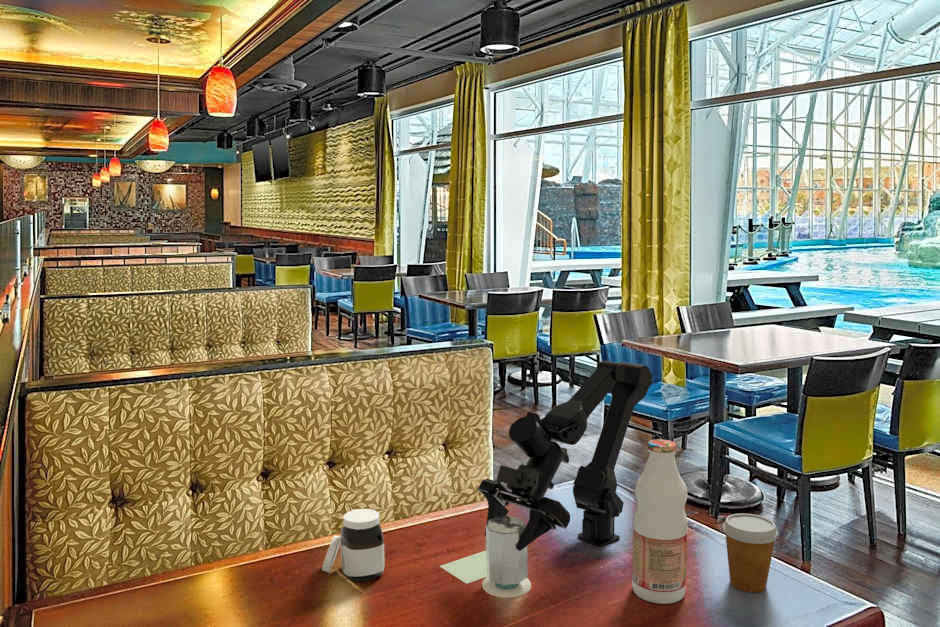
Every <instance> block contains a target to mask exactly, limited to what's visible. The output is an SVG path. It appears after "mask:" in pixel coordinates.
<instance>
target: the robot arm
mask: <svg viewBox="0 0 940 627" xmlns="http://www.w3.org/2000/svg"><path fill="white" fill-rule="evenodd" d="M653 379H654V378H653V373H652V371H650V368H649V367H648V366H647V365H646V364H639V363H631V362H625V361H624V362H623V361H619V362H615V361H609V360H603V361H599V362H598V363H597V365H596V369H595V370H594V371H593V372H592V374H591V375H590V376H589V377H588V378H587V379H586V381H585V382H584V383H583V384H582V385H581V386H580V388H578V390H577V391H576V392H575V393H574V394H573V395H572V396H571V397H570V399H569V400H568V401H566V402H563V403H561V404H558V405H556V406H554V407H553V408H552V409H551V410H549V411H548V412H547V413H546V414H545V415H544V416H543V417H542V418H541V417H540V415H539V414H538V413H537V412H533V411H528V412H527V413H526V415H525V416H521V417H520V418H517V420H515V421H514V422H513V423H511V425H510V427H509V430H508V437H509V439H510V440H511V441H512V442H513V443H514V445H516V447H518V448H519V450H520V451H521V452H522V453H523V455H524V456H526V457H527V458H528V459H527V462H526V464H523V463H521V464H520V465H518V467H517V469H516V468H512V467H509V466H506V465H504V464H503V465H502V464H500V466H499V469H498V473H497V476H496V480H493V479H489V478H485V479H482V481H481V482H480V484H479V485H478V488H477V490H478V491H479V492H480V493H481V495H482V496H483V497H484V499H486V501H487V505H488V506H487V516H486V524H487V523H488V521H489V520H490V519H492V518H495V517H499V516H508V513H509V512H510V510H509V509H508V508H507V507H506V506H509V504H512V505H516V506H519V507H521V508H525V509H527V510H529V518H528V522H527V523H526V524H525V525H526V527H525V529H524V531H523V533H522V535H521V537H520V539H519V541H518V544H517V547H516V549H517V550H518V551H521V550H522V549H524V548H525V547H526V546H527V547H528V546H529V545H530V544H531V543H533V542H534V541H536V540H537V539H539V538H540V537H541V536H543V535H544V534H546V533H547V532H550V531H551V530H554V531H555V530H556V529H557V527H559V528H562V529H567V528H568V525H569V524H570V521H571V513H570V512H569V511H568V510H567V509H566V507H565V506H564V505H563V504H562V503H561V502H560V501H558V500H555V499H553V498H548V497H546V496H545V494H546V493H547V491H548V489H549V490H553V489H554V487H555V484H554V483H553V482H552V481H553V479H554V478H555V475H556V474H557V471H558V470H559V467H560V465H561V464H562V463H566V464H568V463H569V462H570V456H569V454H568V448H565V447H562V446H560V444H559V443H561V444H565V445H569V446H570V445H571V446H576V444H578V443H579V442H580V440H581V438H582V437H583V435H584V434H585V432H586V430H587V429H588V418H589V417H590V415H591V414H592V413H593V412H594V410H595V409H596V408H597V407H598V406H599V405H600V404H601V402H602V401H603V399H605V398H606V396H607V395H608V394H609V392H610V395H611V401H610V404H609V407H608V410H607V414H606V416H605V419H604V422H603V425H602V428H601V431H600V434H599V437H598V440H597V443H596V446H595V450H594V453H593V456H592V459H591V461H590V462H589V463H588V464H587V465H580V467H578V470H577V472H576V473H577V474H576V476H575V479H574V481H573V482H572V483H573V487H572V493H573V498H574V501H575V502H574V503H575V506H576V508H577V509H581V510H583V512H582V513H583V518H582V519H581V520H582V521H581V522H582V524H581V525H582V527H581V532H580V533H578V534H577V537H578V538H580V539H582V540H584V541H586V542H588V543H590V544H593V545H594V546H597V547H602V546H604V545H607V544H610V543H613V542H615V541H618V540H620V539H621V538H620V537H621V536H620V535H617V534H616V533H615V518H619V517H620V514H622V512H623V509H624V501H623V500H622V499H621V497H620V495H618V493H617V488H618V481H617V477H616V473H615V468H616V465H617V461H618V458H619V456H620V451H621V449H622V446H623V442H624V440H625V437H626V434H627V431H628V427H629V424H630V421H631V418H632V414H633V411H634V409H635V406H636V405H637V404H638V403H640V402H641V401H642V400H644V398H646V396H647V394H648V391H649V388H650V386H651V385H652V383H653ZM557 442H558V443H557ZM502 483H503V484H506V485H505V486H506V487H505V486H504V485H503V484H502ZM507 489H508V490H507ZM509 490H510V491H511V492H510V491H509ZM486 524H485V525H486ZM484 537H485V538H486V528H485V529H484Z"/></svg>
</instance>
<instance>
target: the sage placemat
mask: <svg viewBox="0 0 940 627" xmlns="http://www.w3.org/2000/svg"><path fill="white" fill-rule="evenodd" d="M528 562H529V561H528V560H527V563H528ZM439 568H441V569H443V570H445V571H446V572H447V573H449V574H451V575H452V576H453V577H455V578H456V579H458V580H460V581H461V582H463V583H465V584H466V585H469V584H470V583H473V582H476V581H478V580H481V579H485V578H486V577H488V576H487V570H486V550H483V551H480V552H477V553H475V554H471V555H468V556H465V557H462V558H460V559H457V560H453V561H450V562H447V563H445V564H442V565H439Z"/></svg>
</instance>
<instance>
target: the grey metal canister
mask: <svg viewBox="0 0 940 627" xmlns="http://www.w3.org/2000/svg"><path fill="white" fill-rule="evenodd" d="M526 525H527V524H526V521H525V520H524V519H523V518H520V517H518V516H513V515H512V516H511V515H506V516H499V517H495V518H492V519H490V520H489V521H488V523H487V524H485V529H486V537H485V541H486V542H485V546H486V549H485V551H486V570H487V577H488V578H489V581H492V582H495V583H499V584H502V585H508V584H519V583H520V582H522V581H523V580H524V579H526V578H528V562H527V561H528V546H526V547H525V548H524V549H522V550H521V551H518V550H517V549H516V547H517V544H518V541H519V539H520V537H521V535H522V533H523V531H524V529H525V527H526Z"/></svg>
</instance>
